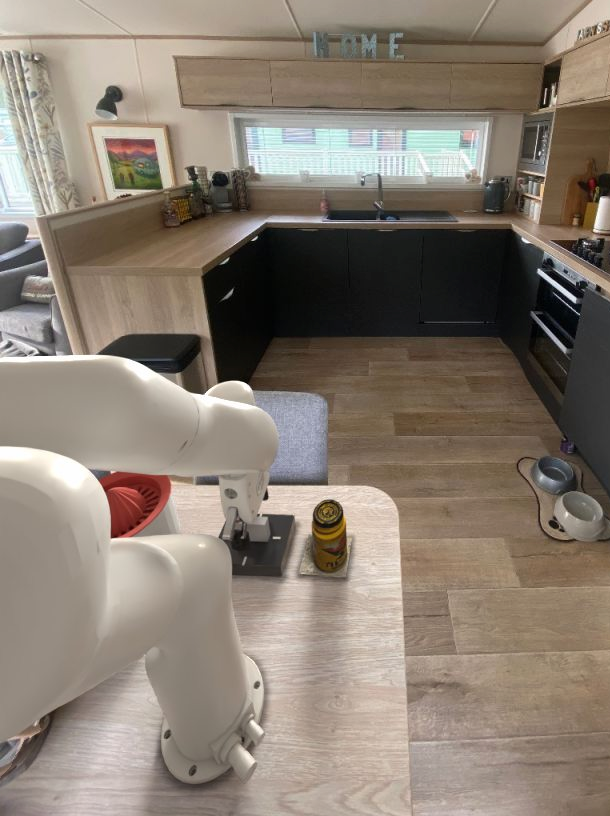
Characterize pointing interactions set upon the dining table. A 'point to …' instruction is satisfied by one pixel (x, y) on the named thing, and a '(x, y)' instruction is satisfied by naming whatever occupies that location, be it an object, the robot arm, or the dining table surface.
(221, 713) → the robot arm
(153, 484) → the citrus juicer
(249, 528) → the tap handle
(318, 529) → the condiment
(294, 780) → the dining table surface
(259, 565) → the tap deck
